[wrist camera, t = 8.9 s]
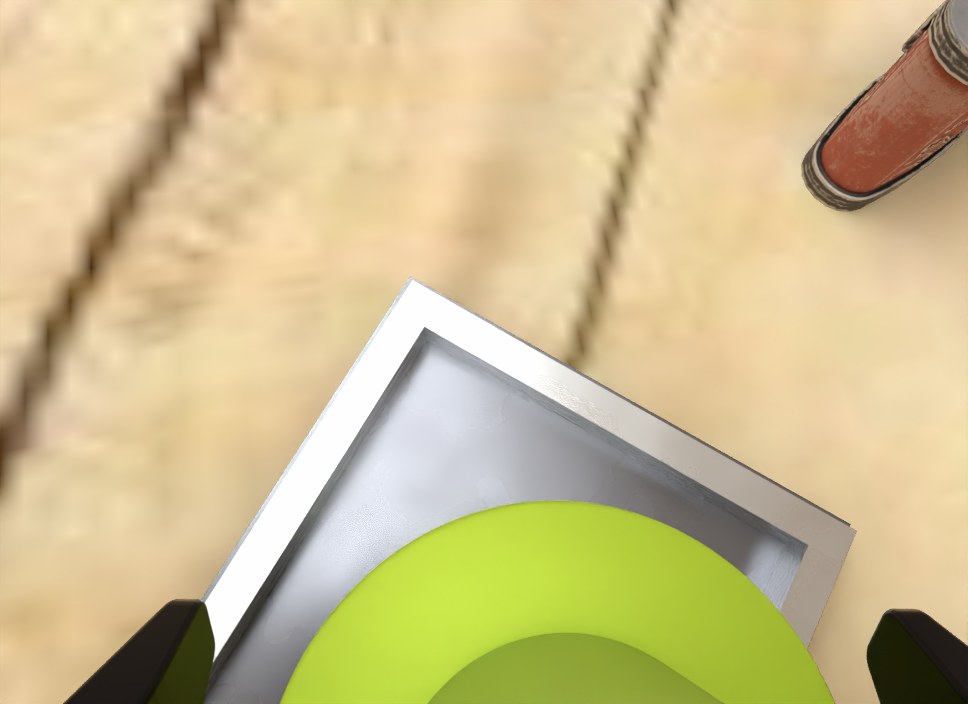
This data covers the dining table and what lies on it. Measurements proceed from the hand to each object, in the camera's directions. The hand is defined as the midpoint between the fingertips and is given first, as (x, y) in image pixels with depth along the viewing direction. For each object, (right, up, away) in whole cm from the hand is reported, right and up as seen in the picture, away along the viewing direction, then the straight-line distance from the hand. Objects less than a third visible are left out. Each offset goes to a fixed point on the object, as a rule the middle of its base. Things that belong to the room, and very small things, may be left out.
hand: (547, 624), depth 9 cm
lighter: (+14, +11, +16) cm, 24 cm away
